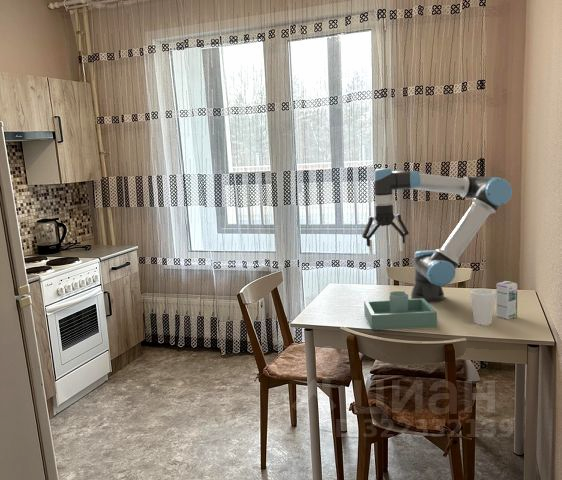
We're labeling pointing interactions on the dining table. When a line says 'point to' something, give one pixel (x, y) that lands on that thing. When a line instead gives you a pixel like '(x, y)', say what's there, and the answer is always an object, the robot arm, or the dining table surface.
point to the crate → (400, 315)
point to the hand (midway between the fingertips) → (386, 252)
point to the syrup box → (507, 299)
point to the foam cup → (483, 305)
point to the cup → (398, 302)
